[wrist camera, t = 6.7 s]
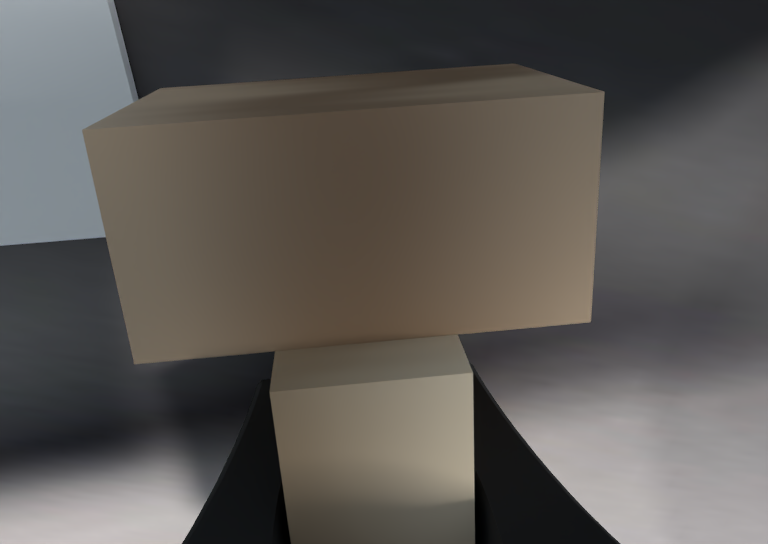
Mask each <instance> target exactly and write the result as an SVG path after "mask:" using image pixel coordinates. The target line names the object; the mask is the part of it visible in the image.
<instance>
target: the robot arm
mask: <svg viewBox="0 0 768 544" xmlns="http://www.w3.org/2000/svg"><path fill="white" fill-rule="evenodd" d="M469 364H470V366H471V369H472V371H473V409H474V496H475V544H620V543H619V542H618V541H617V540H616V539H615V538H614V537H612V536H611V535H610V534H609V533H608V532H607V531H606V530H605V529H604V528H603V527H602V526H601V525H600V524H599V523H598V522H597V521H596V520H595V519H594V518H593V517H592V516H591V515H590V514H589V513H588V512H587V511H586V510H585V509H584V508H583V507H582V506H581V505H580V504H579V503H578V502H577V501H576V499H575V498H574V497H573V496H572V495H571V494H570V493H569V492H568V491H567V490H566V489H565V487H564V486H563V485H562V484H561V483H560V482H559V481H558V480H557V478H556V477H555V476H554V475H553V474H552V473H551V472H550V471H549V469H548V468H547V467H546V466H545V465H544V464H543V462H542V461H541V460H540V459H539V458H538V456H537V455H536V454H535V453H534V451H533V450H532V449H531V448H530V446H529V445H528V444H527V443H526V441H525V440H524V439H523V437H522V436H521V435H520V434H519V432H518V431H517V430H516V429H515V427H514V426H513V425H512V423H511V422H510V421H509V419H508V418H507V417H506V415H505V414H504V412H503V411H502V410H501V408H500V407H499V405H498V404H497V402H496V401H495V400H494V398H493V397H492V395H491V394H490V392H489V391H488V389H487V388H486V386H485V385H484V383H483V381H482V380H481V378H480V377H479V375H478V373H477V372H476V370H475V368H474V366H473V365H472V364H471V363H469ZM270 385H271V379H268V380H262V381H261V382H260V383H259V384H258V385H257V387H256V391H255V394H254V397H253V400H252V403H251V406H250V409H249V411H248V414H247V417H246V419H245V422H244V424H243V426H242V429H241V431H240V434H239V436H238V438H237V441H236V443H235V445H234V447H233V449H232V451H231V453H230V456H229V458H228V460H227V462H226V464H225V466H224V468H223V470H222V472H221V474H220V477H219V479H218V481H217V483H216V484H215V486H214V488H213V490H212V492H211V494H210V496H209V497H208V499H207V501H206V503H205V505H204V506H203V508H202V510H201V512H200V514H199V516H198V517H197V519H196V521H195V523H194V525H193V526H192V528H191V530H190V531H189V533H188V535H187V536H186V538H185V540H184V541H183V543H182V544H291V541H290V534H289V527H288V520H287V513H286V505H285V498H284V491H283V484H282V477H281V470H280V463H279V456H278V449H277V442H276V435H275V428H274V421H273V414H272V407H271V399H270Z"/></svg>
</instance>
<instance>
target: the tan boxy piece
mask: <svg viewBox="0 0 768 544" xmlns="http://www.w3.org/2000/svg"><path fill="white" fill-rule="evenodd" d="M604 95H605V92H604V91H600V90H597V89H594V88H591V87H588V86H585V85H581V84H578V83H575V82H572V81H569V80H566V79H562V78H559V77H556V76H553V75H550V74H547V73H543V72H540V71H537V70H534V69H531V68H528V67H525V66H521V65H518V64H515V63H514V64H500V65H485V66H471V67H457V68H442V69H428V70H414V71H399V72H385V73H371V74H356V75H342V76H328V77H313V78H299V79H285V80H271V81H256V82H242V83H228V84H213V85H199V86H185V87H170V88H160V89H158V90H156V91H154V92H152V93H150V94H149V95H147V96H145V97H143V98H141V99H139V100H137V101H135V102H134V103H132V104H130V105H128V106H126V107H124V108H122V109H120V110H118V111H117V112H115V113H113V114H111V115H109V116H107V117H105V118H103V119H102V120H100V121H98V122H96V123H94V124H92V125H90V126H88V127H87V128H85V129H83V130H82V133H83V137H84V142H85V146H86V150H87V155H88V159H89V164H90V168H91V173H92V177H93V182H94V186H95V191H96V195H97V200H98V204H99V209H100V213H101V218H102V222H103V226H104V231H105V235H106V240H107V244H108V249H109V253H110V258H111V262H112V267H113V271H114V276H115V280H116V285H117V289H118V294H119V298H120V302H121V307H122V311H123V316H124V320H125V325H126V329H127V334H128V338H129V343H130V347H131V352H132V356H133V361H134V364H144V363H154V362H165V361H176V360H187V359H198V358H208V357H219V356H230V355H241V354H252V353H263V352H273V351H275V355H274V362H273V370H272V377H271V385H270V399H271V407H272V414H273V421H274V428H275V435H276V442H277V449H278V456H279V463H280V470H281V477H282V484H283V491H284V498H285V505H286V513H287V520H288V527H289V534H290V541H291V544H475V496H474V409H473V371H472V369H471V366H470V364H469V362H468V359H467V357H466V354H465V352H464V349H463V347H462V344H461V342H460V339H459V337H458V335H457V334H468V333H479V332H490V331H501V330H511V329H522V328H533V327H544V326H555V325H565V324H576V323H587V322H591V310H592V293H593V277H594V260H595V244H596V227H597V211H598V194H599V178H600V161H601V145H602V128H603V112H604Z"/></svg>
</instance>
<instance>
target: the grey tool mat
mask: <svg viewBox="0 0 768 544" xmlns="http://www.w3.org/2000/svg"><path fill="white" fill-rule="evenodd" d="M137 100H139V99H138V95H137V91H136V87H135V83H134V79H133V75H132V71H131V67H130V63H129V59H128V55H127V51H126V47H125V44H124V40H123V36H122V32H121V28H120V24H119V20H118V16H117V12H116V8H115V4H114V0H0V246H3V245H16V244H28V243H40V242H52V241H64V240H77V239H89V238H101V237H106V235H105V231H104V226H103V222H102V218H101V213H100V209H99V204H98V200H97V195H96V191H95V186H94V182H93V177H92V173H91V168H90V164H89V159H88V155H87V150H86V146H85V142H84V137H83V133H82V130H83V129H85V128H87V127H88V126H90V125H92V124H94V123H96V122H98V121H100V120H102V119H103V118H105V117H107V116H109V115H111V114H113V113H115V112H117V111H118V110H120V109H122V108H124V107H126V106H128V105H130V104H132V103H134V102H135V101H137Z"/></svg>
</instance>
